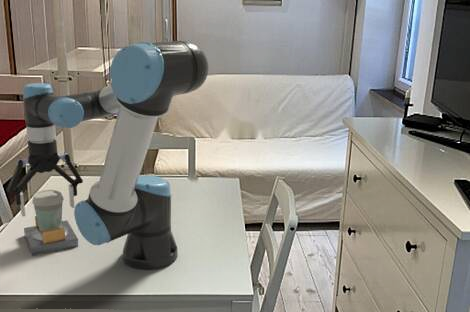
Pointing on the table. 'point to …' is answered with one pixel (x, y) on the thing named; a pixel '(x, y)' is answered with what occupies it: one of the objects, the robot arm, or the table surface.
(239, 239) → the table surface
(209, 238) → the table surface
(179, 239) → the table surface
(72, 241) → the block
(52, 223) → the coffee cup
